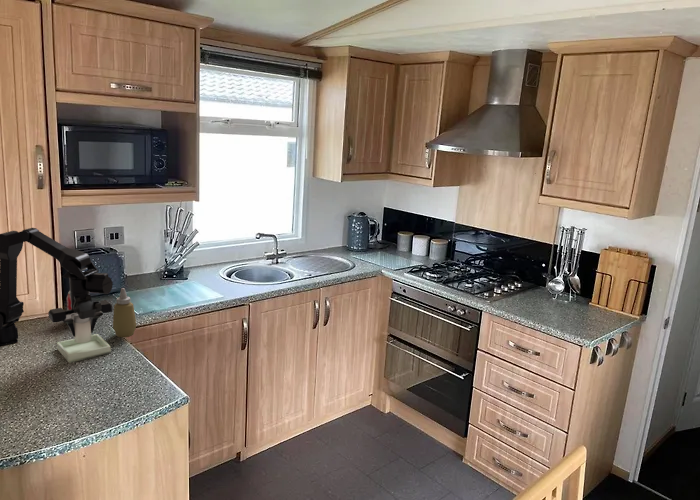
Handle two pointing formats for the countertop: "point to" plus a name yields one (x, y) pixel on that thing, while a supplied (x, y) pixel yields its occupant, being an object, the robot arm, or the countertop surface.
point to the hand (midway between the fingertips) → (82, 334)
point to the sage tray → (83, 348)
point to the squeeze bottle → (124, 316)
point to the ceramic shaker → (82, 329)
